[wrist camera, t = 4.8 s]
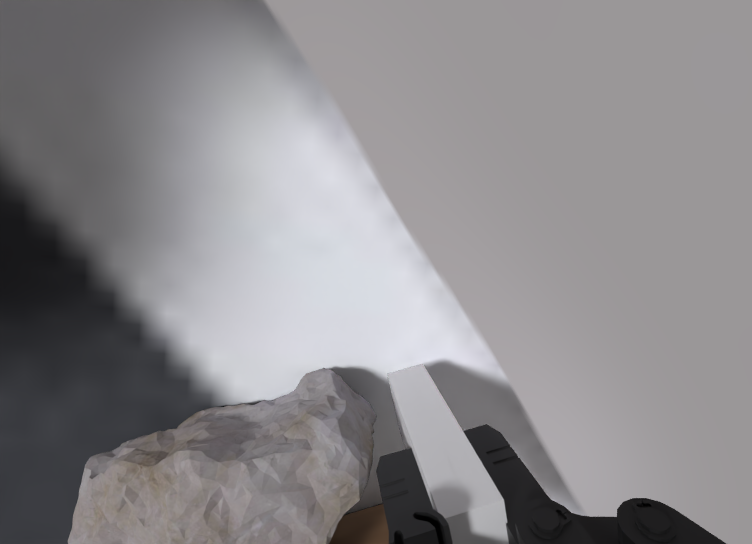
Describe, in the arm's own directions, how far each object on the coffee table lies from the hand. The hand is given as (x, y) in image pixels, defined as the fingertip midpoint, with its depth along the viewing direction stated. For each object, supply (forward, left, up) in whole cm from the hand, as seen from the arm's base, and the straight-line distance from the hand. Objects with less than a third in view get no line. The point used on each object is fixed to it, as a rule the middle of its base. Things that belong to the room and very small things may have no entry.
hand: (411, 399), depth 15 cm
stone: (+1, -7, -2) cm, 7 cm away
